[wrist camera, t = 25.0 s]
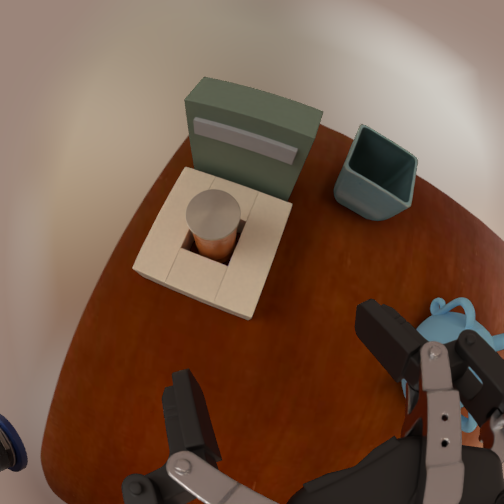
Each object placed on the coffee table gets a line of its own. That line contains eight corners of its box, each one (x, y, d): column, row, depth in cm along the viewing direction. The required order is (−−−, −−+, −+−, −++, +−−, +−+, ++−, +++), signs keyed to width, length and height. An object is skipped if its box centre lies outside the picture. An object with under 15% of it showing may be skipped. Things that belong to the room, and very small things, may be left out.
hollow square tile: (142, 276, 30) (131, 268, 26) (188, 183, 34) (185, 166, 30) (248, 320, 30) (251, 318, 26) (285, 218, 34) (292, 203, 30)
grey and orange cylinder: (198, 268, 31) (187, 242, 22) (193, 229, 32) (183, 192, 24) (239, 262, 32) (244, 235, 23) (233, 224, 33) (236, 186, 24)
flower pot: (338, 161, 37) (361, 121, 29) (387, 190, 37) (419, 157, 28) (318, 205, 35) (343, 166, 26) (373, 237, 34) (410, 208, 26)
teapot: (442, 427, 26) (492, 440, 16) (368, 393, 28) (424, 409, 17) (477, 340, 31) (527, 333, 20) (415, 290, 33) (471, 270, 22)
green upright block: (194, 182, 34) (181, 102, 21) (208, 157, 36) (204, 76, 22) (282, 214, 34) (313, 142, 21) (292, 186, 35) (323, 111, 22)
